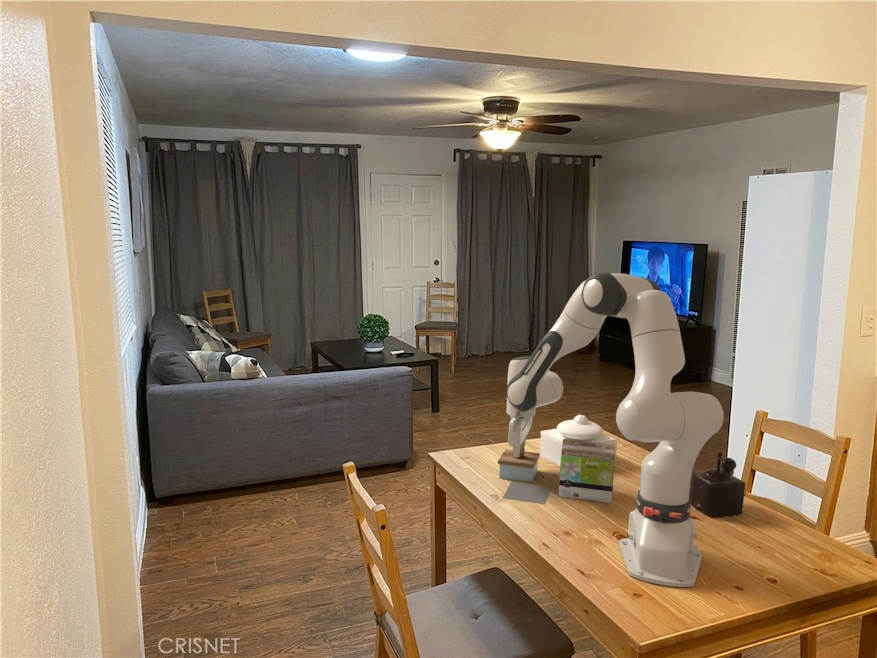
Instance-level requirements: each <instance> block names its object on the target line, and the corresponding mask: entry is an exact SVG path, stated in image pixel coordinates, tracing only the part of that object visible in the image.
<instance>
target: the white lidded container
mask: <svg viewBox="0 0 877 658" xmlns="http://www.w3.org/2000/svg"><path fill="white" fill-rule="evenodd" d="M603 432H604V431H603V428H602V427H601V426H600V425H599V424H598V423H595V422H592V421H590V420H588V418H587V416H585V414H583V415H582V414H577V415H576V416H575V417H574V418H573V419H568V420H564V421H562V422H560V423H559V424H557V426H556V428H551V429H546V430H541V431H540V449H539V451H540V452H539V453H540V456H539V457H540V458H542V457H543V458H542V459H544V458H545V459H544V460H546V459H547V460H546V461H548V460H549V461H548V462H550V461H551V462H550V463H552V462H553V463H552V464H554V463H555V464H557V465H559V466H560V464H561V451H562V444H563V439H571V440H581V441H590V442H600V443H609V444H614V449H615V465H616V463H617V448H618V441H617V439H616V438H614V437H612V436H609V435H606V434H604V433H603ZM555 464H554V465H555ZM557 465H556V466H557ZM559 466H558V467H559Z"/></svg>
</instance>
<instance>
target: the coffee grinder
mask: <svg viewBox="0 0 877 658" xmlns="http://www.w3.org/2000/svg"><path fill="white" fill-rule="evenodd" d="M716 454H717V456H716V467H715V468H709V469H703V470H702V469H701V470H692V476H691V484H690V493H689V498H690V499H691V507H693V508H695V509H696V510H697V511H698V512H701V513H702V514H703V515H706V516H707V517H710V518H725V517H726V516H729V517H734V515H736V516H741V515H743V506H744V500H745V499H744V498H745V491H746V482H745V481H743V480H741V479H739V477H736V476H735V475H734V473H735V469H736V468H737V461H736V460H735V459H733V458H731V457H724V458H723V452H722V451H718V452H717V453H716ZM726 518H727V517H726Z"/></svg>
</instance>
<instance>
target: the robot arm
mask: <svg viewBox="0 0 877 658" xmlns="http://www.w3.org/2000/svg"><path fill="white" fill-rule="evenodd" d="M609 316H610V317H614V318H615V317H616V318H620V319H626V320H627V321H628V324H629V326H630V327H629V329H630V333H631V342H632V348H633V349H632V350H633V354H634V366H635V367H634V368H635V373H634V380H633V382H632V387H631V389H630V390H629V392H628V394H627V395H626V396H625V397H624V398H623V400H621V402H620V403H619V405H618V407H617V410H616V414H615V422H616V425H617V428H618V430H619V432H620V433H621V435H622V436H623V437H624V438H625V439H627V440H628V441H633V442H641V443H658V445H657V446H656V447H655V449H653V450H652V451H650V452H649V453H648V454H646V456H645V457H644V458H643V460H642V463H641V467H640V480H639V481H640V482H639V490H638V491H637V496H636V508H635V509H634V510H632V511H631V512H629V517H628V518H629V520H628V528H627V529H628V532H627V535H626V536H627V537H626V538H621V539H619V543H618V547H619V548H620V552H621V555H622V558H623V562H624V564H625V568H626V570H627V572H628V575H629V576H631V577H633V578H635V579H638V580H641V581H644V582H647V583H651V584H656V585H661V586H668V587H674V588H675V587H678V588H689V587H690V588H691V587H694V586H695V585H696V582H697V579H698V575H699V572H700V569H701V565H702V561H703V553H702V552H701V551H700V550H699V546H698V544H695V540H697V537H698V532H696V521H695V520H694V519H693V518H692V517H691V510H692V505H691V499H690V498H689V493H690V484H691V476H692V471H694V465H695V463H696V460H697V458H698V456H699V454H700V453H701V450H702V449H703V448H704V446H705V445H706V443H707V442H708V440H710V439H711V438H712V437H713V436H714V435H715V434H717V433H718V432H719V431H720V430H721V428H722V425H723V423H724V419H725V417H724V410H723V407H722V404H721V402H720V401H719V400H718V399H717V397H715V396H714V395H712V394H710V393H705V392H699V391H693V390H692V391H691V390H690V391H677V392H671V383H672V379H673V377H674V376H675V375H677V374H678V373H679V372H681V370H683V368H684V366H685V364H686V358H685V351H684V346H683V340H682V336H681V330H680V329H681V328H680V326H679V325H680V324H679V321H678V316H677V314H676V310H675V308H674V306H673V303H672V300H671V297H670V296H669V295H668V294H667V293H666V292H665V291H662V289H661V286H660V285H659V284H658V283H657V282H656V281H654V280H652V279H650V278H648V277H642V276H641V277H639V276H636V275H630V274H627V273H617V272H616V273H615V272H614V273H609V272H599V273H594V274H592V275H590V276H589V277H588V278H587V279H586V280H584V281H582V282H581V284H580V285H579V286H577V288H576V289H575V291H574V292H573V293H572V295H571V297H570V298H569V299H568V301H567V303H566V305H565V306H564V308H563V310H562V312H561V313H560V316H559V317H558V318H557V320H556V321H555V323H554V325H553V326H552V327H551V328H550V329H549V331H548V332H547V333H546V334H545V335H544V337H543V338H542V339H541V340H540V342H539V343H538V344H537V345H536V348H535V349H534V350H533V352H532V353H531V355H530V356H520V357H519V356H517V357H515V358H512V359H511V360H510V362H509V365H508V371H507V378H506V379H507V387H506V414H507V415H508V416H510V421H509V425H508V434H507V435H508V438H507V444H508V446H509V447H512V450H513V456H514V457H519V456H520V446H522V447H524V448H525V447H526V442H527V437H528V436H527V435H528V434H529V431H531V429H532V424H533V417H534V416H535V415H536V411H537V410H536V408H539V407H543V406H547V405H550V404H553V403H556V402H559V401H560V400H561V399H562V397H563V395H564V382H563V380H562V378H561V376H559V374H558V373H556V372H555V371H551V370H550V369H551V367H552V366H553V365H554V363H555V362H557V361H558V360H560V359H561V358H563V357H564V356H566V355H568V354H570V353H572V352H575V351H577V350H579V349H582V348H584V347H586V346H587V345H590V343H591V342H592V341H593V340H594V339H595V338H596V336H597V334H598V333H599V331H600V329H601V328H602V326H603V324H604V322H605V319H607V317H609Z"/></svg>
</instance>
